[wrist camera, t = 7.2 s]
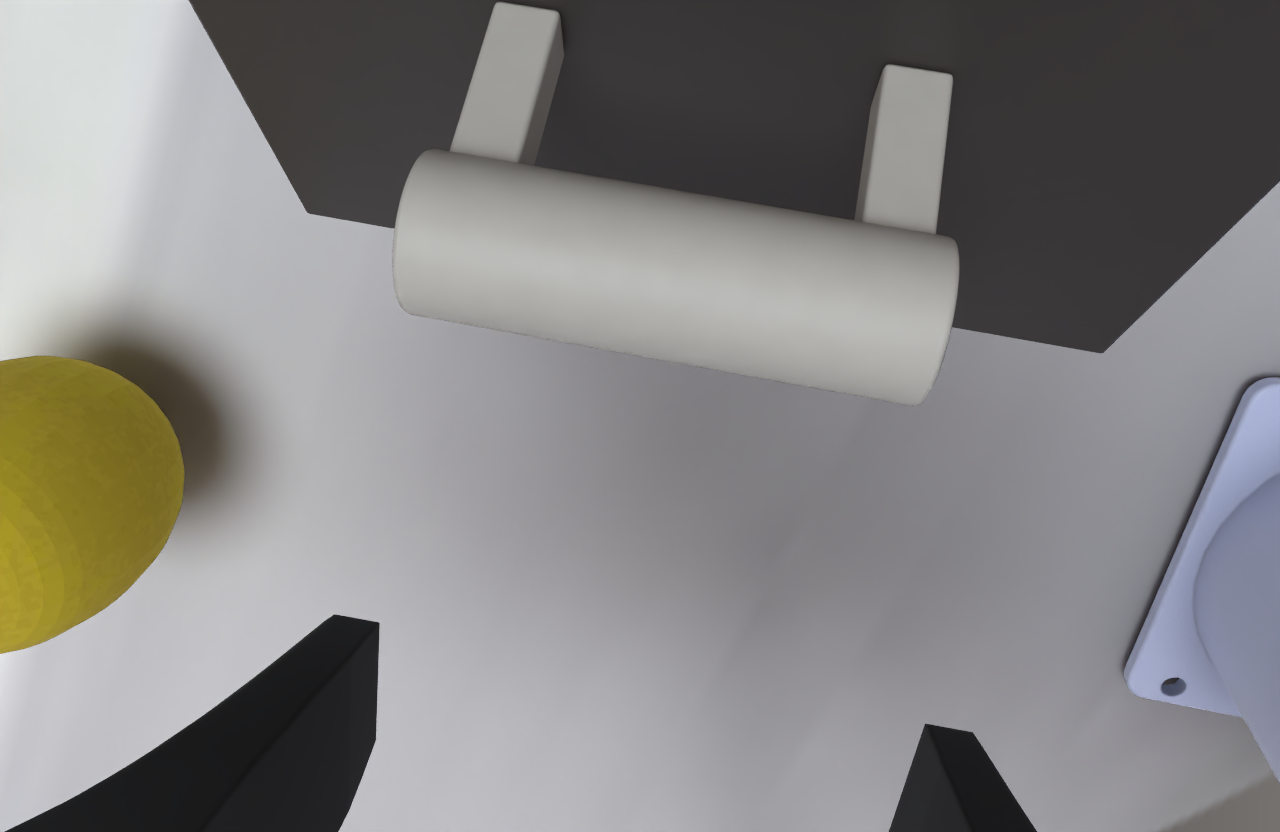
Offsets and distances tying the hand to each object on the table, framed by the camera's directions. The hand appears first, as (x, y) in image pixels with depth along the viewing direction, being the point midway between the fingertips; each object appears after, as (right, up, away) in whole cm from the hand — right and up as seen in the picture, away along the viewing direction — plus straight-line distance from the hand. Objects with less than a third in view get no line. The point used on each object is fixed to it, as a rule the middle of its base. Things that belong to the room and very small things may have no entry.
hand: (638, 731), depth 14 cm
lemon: (-12, +4, +12) cm, 17 cm away
